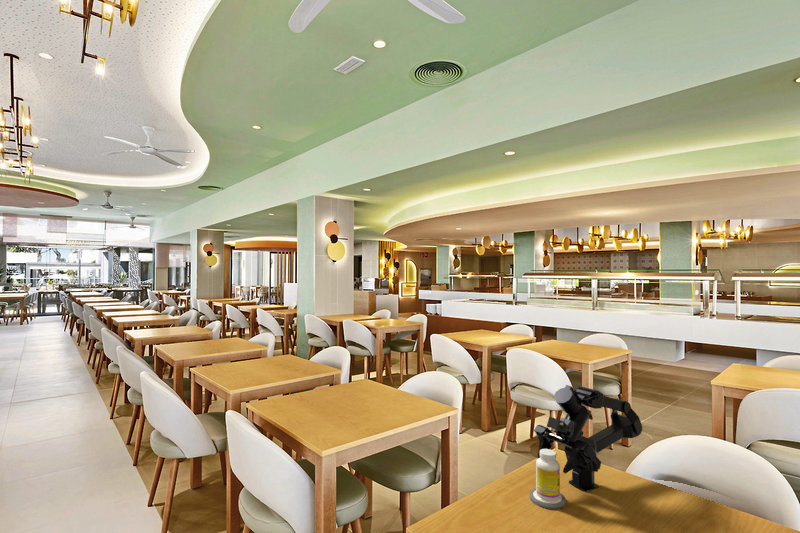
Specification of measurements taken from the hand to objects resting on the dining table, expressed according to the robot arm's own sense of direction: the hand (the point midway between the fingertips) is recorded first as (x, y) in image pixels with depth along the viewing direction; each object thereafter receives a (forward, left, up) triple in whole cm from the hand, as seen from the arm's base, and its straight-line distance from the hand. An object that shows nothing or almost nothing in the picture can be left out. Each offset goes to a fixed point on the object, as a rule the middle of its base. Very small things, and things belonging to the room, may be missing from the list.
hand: (550, 466), depth 123 cm
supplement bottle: (+1, 0, -8) cm, 9 cm away
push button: (+2, 0, -9) cm, 9 cm away
